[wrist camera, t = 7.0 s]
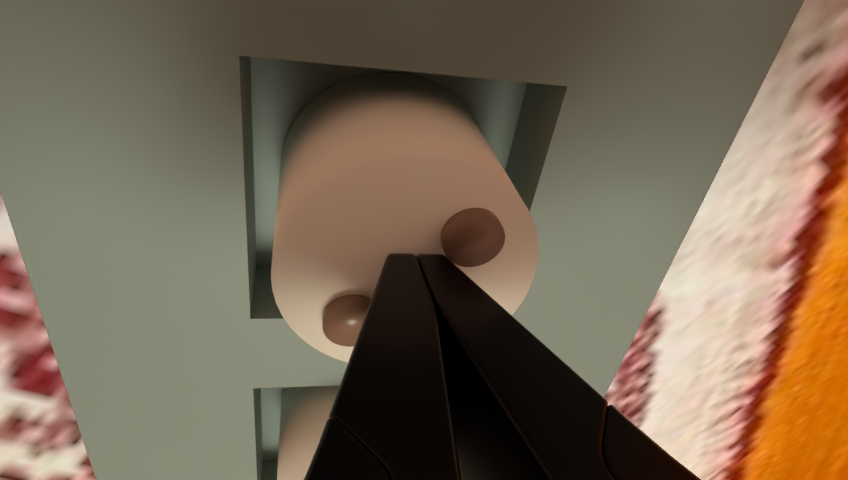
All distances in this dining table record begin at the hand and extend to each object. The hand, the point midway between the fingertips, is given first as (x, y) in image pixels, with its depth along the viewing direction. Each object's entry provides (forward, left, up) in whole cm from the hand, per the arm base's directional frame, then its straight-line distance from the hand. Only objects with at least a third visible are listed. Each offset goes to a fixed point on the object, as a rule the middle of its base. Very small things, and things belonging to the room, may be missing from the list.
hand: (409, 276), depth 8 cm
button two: (0, 0, -3) cm, 3 cm away
